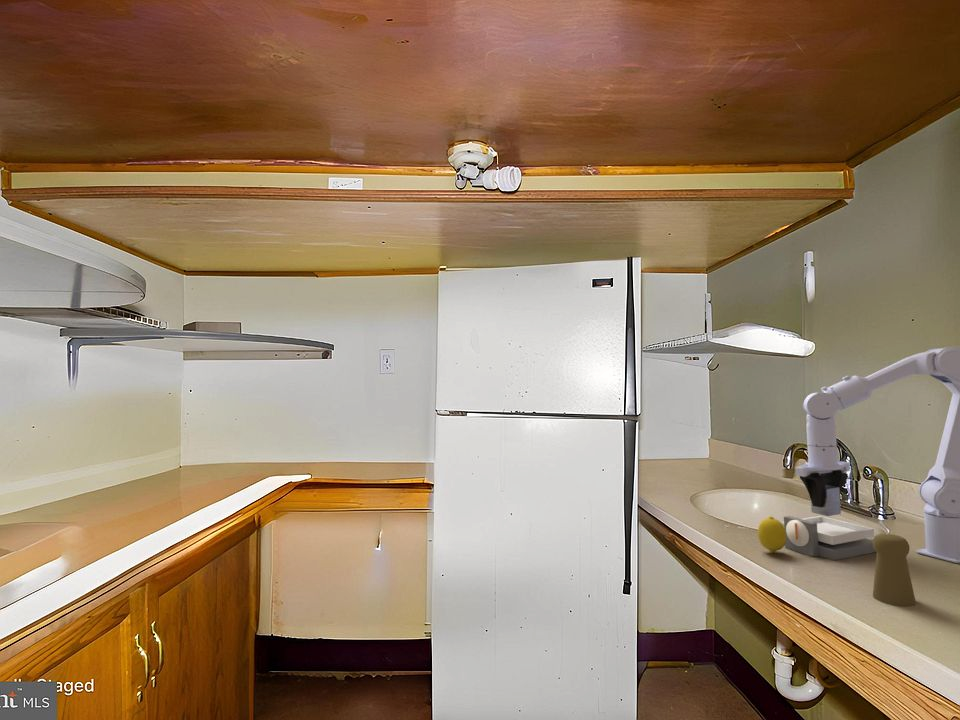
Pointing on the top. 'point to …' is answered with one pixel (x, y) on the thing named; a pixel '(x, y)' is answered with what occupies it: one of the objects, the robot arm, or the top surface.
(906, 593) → the cork
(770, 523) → the lemon
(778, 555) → the top surface
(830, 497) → the steel block
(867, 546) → the kitchen scale
